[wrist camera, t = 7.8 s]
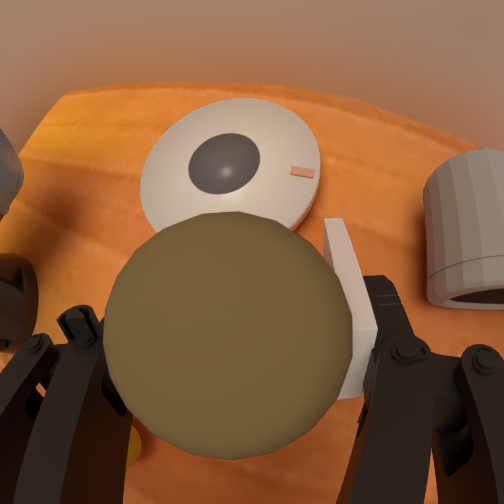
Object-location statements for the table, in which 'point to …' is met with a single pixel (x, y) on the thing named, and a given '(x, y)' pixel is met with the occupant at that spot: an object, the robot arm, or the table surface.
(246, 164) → the turntable
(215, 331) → the cork
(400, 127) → the table surface
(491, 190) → the alarm clock
